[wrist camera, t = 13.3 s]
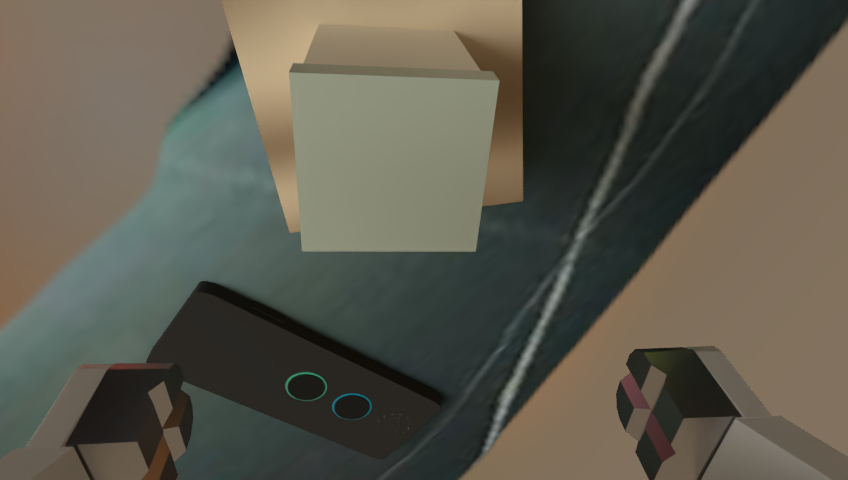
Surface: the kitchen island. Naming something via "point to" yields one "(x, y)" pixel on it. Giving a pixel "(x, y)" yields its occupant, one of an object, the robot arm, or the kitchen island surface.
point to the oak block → (390, 8)
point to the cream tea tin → (390, 140)
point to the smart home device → (292, 373)
